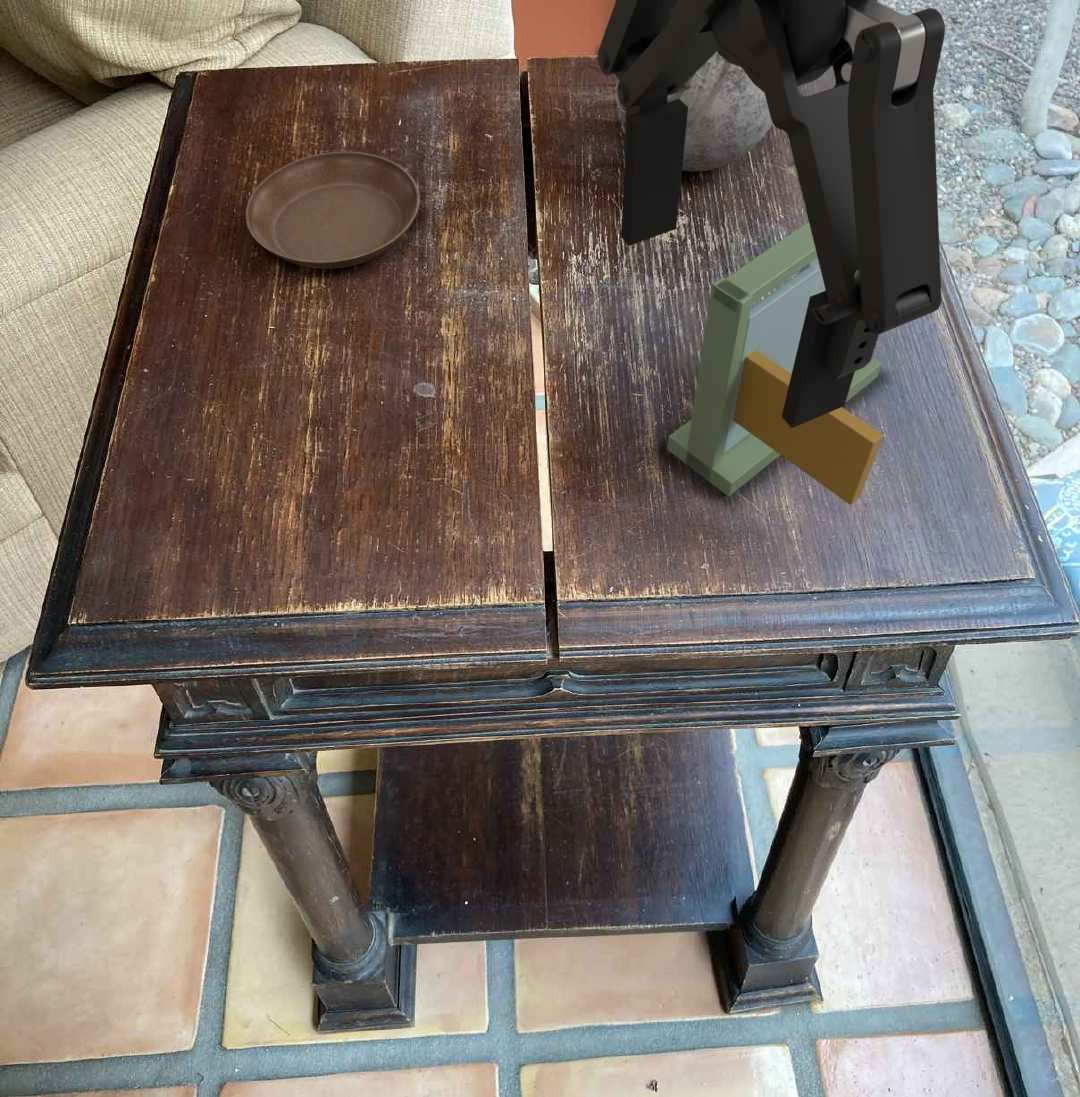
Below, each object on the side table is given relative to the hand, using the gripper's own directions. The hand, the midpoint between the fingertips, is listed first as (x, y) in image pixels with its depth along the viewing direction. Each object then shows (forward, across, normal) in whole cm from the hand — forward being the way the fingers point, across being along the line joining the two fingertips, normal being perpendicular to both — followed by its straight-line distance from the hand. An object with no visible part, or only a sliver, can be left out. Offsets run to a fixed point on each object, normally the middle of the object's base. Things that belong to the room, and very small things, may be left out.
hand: (724, 316), depth 48 cm
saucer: (+25, -47, -6) cm, 53 cm away
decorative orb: (+25, -42, +27) cm, 55 cm away
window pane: (+23, -5, +13) cm, 27 cm away
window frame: (+25, -11, +15) cm, 31 cm away
